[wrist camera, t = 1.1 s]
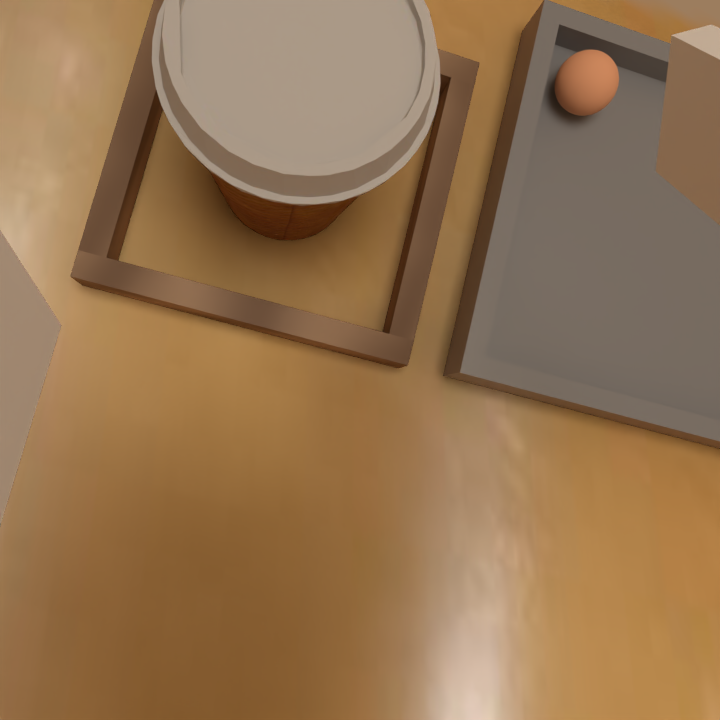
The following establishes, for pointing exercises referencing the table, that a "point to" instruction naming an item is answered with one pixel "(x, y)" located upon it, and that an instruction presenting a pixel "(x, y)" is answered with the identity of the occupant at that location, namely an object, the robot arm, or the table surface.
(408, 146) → the disposable coffee cup
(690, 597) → the table surface
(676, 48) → the robot arm
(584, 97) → the ball
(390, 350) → the frame
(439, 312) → the table surface
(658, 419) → the tray
